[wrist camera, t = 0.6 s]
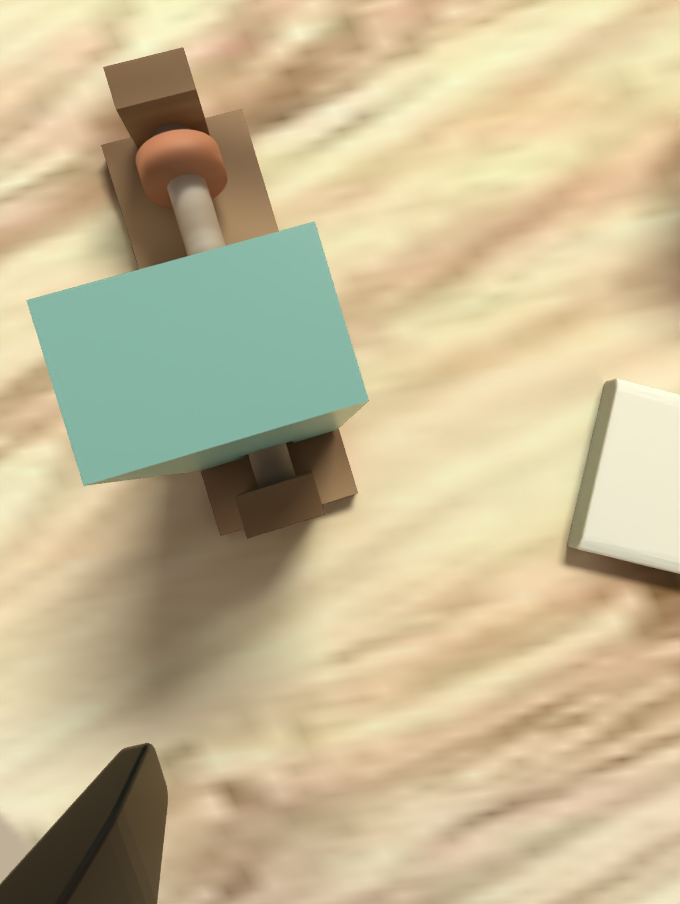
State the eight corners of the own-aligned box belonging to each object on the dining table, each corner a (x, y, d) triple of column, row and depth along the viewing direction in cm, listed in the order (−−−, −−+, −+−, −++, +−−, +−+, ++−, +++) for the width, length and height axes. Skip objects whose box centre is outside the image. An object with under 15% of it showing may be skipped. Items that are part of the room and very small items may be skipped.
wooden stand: (356, 491, 24) (368, 500, 19) (223, 533, 24) (202, 552, 19) (243, 120, 24) (228, 36, 19) (108, 155, 24) (57, 78, 19)
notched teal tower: (337, 429, 23) (368, 400, 11) (201, 470, 23) (83, 485, 11) (310, 343, 23) (314, 221, 11) (174, 382, 22) (26, 300, 11)
